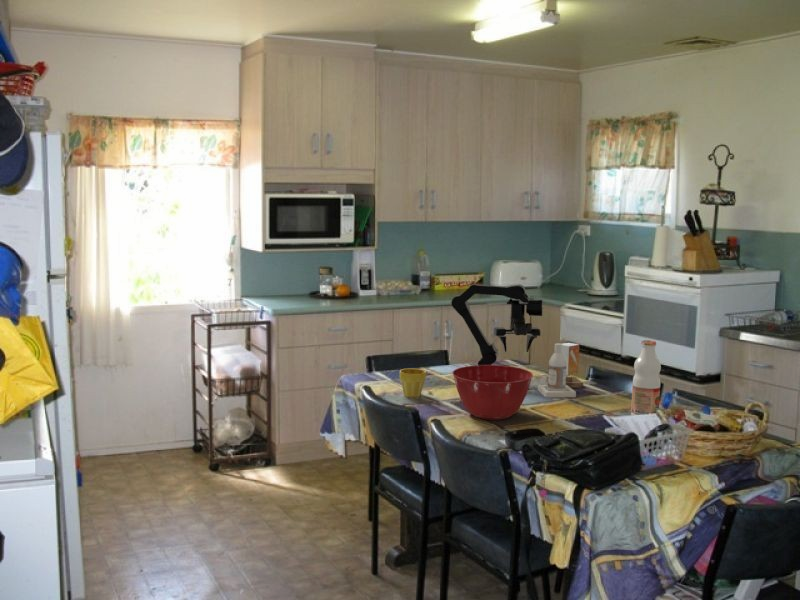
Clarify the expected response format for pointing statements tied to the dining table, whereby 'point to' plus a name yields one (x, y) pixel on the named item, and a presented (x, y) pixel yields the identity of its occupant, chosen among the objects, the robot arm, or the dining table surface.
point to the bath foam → (557, 370)
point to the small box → (571, 357)
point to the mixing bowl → (492, 389)
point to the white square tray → (556, 392)
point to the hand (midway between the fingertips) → (516, 351)
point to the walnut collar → (572, 382)
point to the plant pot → (412, 381)
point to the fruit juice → (646, 381)
